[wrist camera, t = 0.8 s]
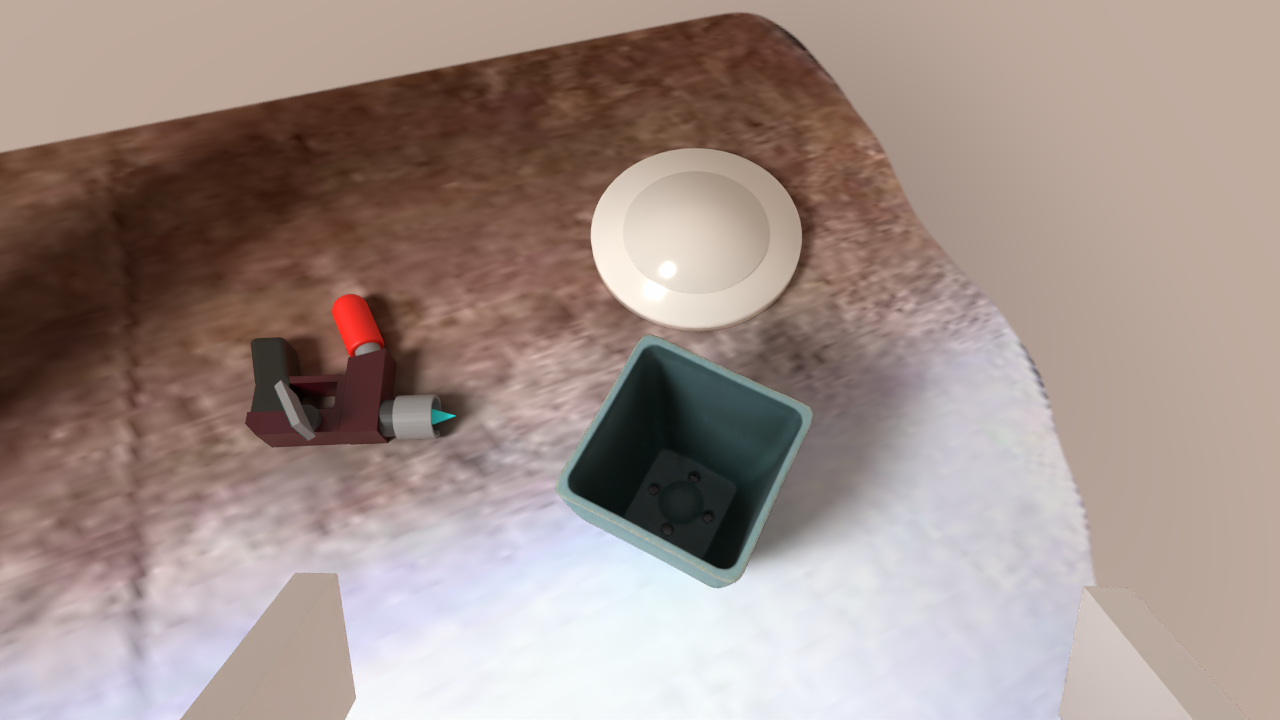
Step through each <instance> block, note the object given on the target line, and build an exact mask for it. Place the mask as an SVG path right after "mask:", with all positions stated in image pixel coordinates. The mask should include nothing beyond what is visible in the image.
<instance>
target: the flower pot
mask: <svg viewBox="0 0 1280 720" xmlns="http://www.w3.org/2000/svg"><path fill="white" fill-rule="evenodd" d="M813 419H814V412H813V410H812V409H811V407H809V406H808V405H806V404H804V403H802V402H800V401H798V400H796V399H793V398H791V397H789V396H787V395H785V394H782V393H780V392H778V391H775V390H773V389H771V388H769V387H766V386H764V385H762V384H760V383H758V382H756V381H753V380H751V379H749V378H747V377H745V376H742V375H740V374H738V373H736V372H733V371H731V370H729V369H727V368H725V367H723V366H721V365H718V364H716V363H714V362H711V361H709V360H707V359H705V358H703V357H701V356H699V355H697V354H695V353H692V352H690V351H688V350H686V349H684V348H682V347H679V346H677V345H676V344H674V343H671V342H669V341H667V340H665V339H663V338H660V337H657V336H654V335H645V336H643V337H642V338H641V339H640V340H639V341H638V343H637V344H636V346H635V348H634V349H633V351H632V353H631V355H630V357H629V358H628V360H627V362H626V364H625V366H624V367H623V369H622V371H621V373H620V374H619V376H618V378H617V380H616V381H615V383H614V385H613V387H612V388H611V390H610V392H609V394H608V395H607V397H606V399H605V401H604V402H603V404H602V405H601V407H600V409H599V411H598V412H597V414H596V416H595V418H594V419H593V421H592V422H591V424H590V426H589V428H588V429H587V431H586V432H585V434H584V436H583V437H582V439H581V441H580V442H579V444H578V446H577V447H576V449H575V451H574V452H573V454H572V456H571V457H570V459H569V461H568V462H567V464H566V466H565V467H564V469H563V470H562V472H561V474H560V475H559V477H558V479H557V482H556V484H555V491H556V493H557V494H558V495H559V496H560V497H561V498H562V499H563V500H564V502H565V503H566V504H567V505H568V506H569V507H570V508H571V509H572V510H573V511H574V512H575V513H576V514H577V515H578V516H579V517H581V518H582V519H583V520H585V521H587V522H588V523H590V524H592V525H594V526H596V527H598V528H600V529H602V530H604V531H606V532H608V533H610V534H612V535H614V536H616V537H618V538H620V539H622V540H624V541H626V542H628V543H630V544H631V545H633V546H635V547H637V548H639V549H641V550H643V551H645V552H647V553H649V554H651V555H652V556H654V557H656V558H658V559H660V560H662V561H664V562H666V563H667V564H669V565H671V566H673V567H675V568H677V569H679V570H680V571H682V572H684V573H686V574H688V575H690V576H692V577H693V578H695V579H697V580H699V581H701V582H702V583H704V584H706V585H708V586H710V587H713V588H722V587H725V586H728V585H730V584H733V583H735V582H736V581H738V580H739V579H740V578H741V576H742V575H743V573H744V571H745V569H746V566H747V564H748V562H749V559H750V556H751V554H752V552H753V550H754V548H755V545H756V543H757V541H758V539H759V536H760V534H761V532H762V529H763V527H764V525H765V523H766V521H767V518H768V516H769V514H770V512H771V509H772V507H773V505H774V503H775V501H776V499H777V497H778V494H779V492H780V490H781V488H782V486H783V483H784V481H785V479H786V477H787V474H788V472H789V470H790V468H791V466H792V464H793V462H794V460H795V458H796V456H797V454H798V451H799V449H800V447H801V445H802V443H803V441H804V439H805V437H806V435H807V433H808V431H809V429H810V427H811V425H812V422H813ZM691 474H696V475H697V476H698V481H697V482H691V481H690V480H689V476H690V475H691ZM654 485H655V486H657V487H658V489H659V492H658V494H656V495H652V494H651V493H650V492H649V488H650V487H651V486H654ZM706 513H710V514H711V515H712V521H711V522H705V521H704V519H703V516H704V514H706ZM666 525H668V526H670V527H671V528H672V533H671V534H670V535H665V534H664V533H663V532H662V528H663V527H664V526H666Z"/></svg>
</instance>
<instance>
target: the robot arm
mask: <svg viewBox="0 0 1280 720" xmlns="http://www.w3.org/2000/svg"><path fill="white" fill-rule="evenodd" d="M355 699H356V695H355V688H354V682H353V675H352V668H351V662H350V655H349V648H348V642H347V635H346V629H345V622H344V615H343V609H342V602H341V595H340V589H339V582H338V575H337V574H331V573H295V574H294V575H293V577H292V578H291V579H290V580H289V582H288V583H287V584H286V586H285V587H284V588H283V589H282V591H281V592H280V593H279V594H278V596H277V597H276V598H275V600H274V601H273V602H272V603H271V605H270V606H269V607H268V608H267V610H266V611H265V612H264V614H263V615H262V616H261V617H260V619H259V620H258V621H257V623H256V624H255V625H254V626H253V628H252V629H251V630H250V631H249V633H248V634H247V635H246V637H245V638H244V639H243V640H242V642H241V643H240V644H239V645H238V647H237V648H236V649H235V651H234V652H233V653H232V654H231V656H230V657H229V658H228V659H227V661H226V662H225V663H224V665H223V666H222V667H221V668H220V670H219V671H218V672H217V673H216V675H215V676H214V677H213V679H212V680H211V681H210V682H209V684H208V685H207V686H206V687H205V689H204V690H203V691H202V693H201V694H200V695H199V696H198V698H197V699H196V700H195V701H194V703H193V704H192V705H191V707H190V708H189V709H188V710H187V712H186V713H185V714H184V715H183V717H182V718H181V719H180V720H345V718H346V716H347V714H348V712H349V710H350V709H351V707H352V705H353V703H354V701H355ZM1059 717H1060V718H1061V720H1250V719H1249V718H1248V717H1247V716H1246V715H1245V714H1244V713H1243V712H1242V711H1241V710H1240V708H1239V707H1238V706H1237V705H1236V704H1235V703H1234V702H1233V701H1232V700H1231V699H1230V697H1229V696H1228V695H1227V694H1226V693H1225V692H1224V691H1223V690H1222V689H1221V688H1220V686H1219V685H1217V683H1216V682H1215V681H1214V680H1213V679H1212V678H1211V677H1210V675H1209V674H1208V673H1207V672H1206V671H1205V670H1204V669H1203V668H1202V667H1201V666H1200V664H1199V663H1198V662H1197V661H1196V660H1195V659H1194V658H1193V657H1192V656H1191V655H1190V654H1189V653H1188V651H1187V650H1186V649H1185V648H1184V647H1183V646H1182V645H1181V644H1180V642H1179V641H1178V640H1177V639H1176V638H1175V637H1174V636H1173V635H1172V634H1171V633H1170V631H1169V630H1168V629H1167V628H1166V627H1165V626H1164V625H1163V624H1162V623H1161V622H1160V620H1159V619H1158V618H1157V617H1156V616H1155V615H1154V614H1153V613H1152V612H1151V611H1150V609H1148V607H1147V606H1146V605H1145V604H1144V603H1143V602H1142V601H1141V600H1140V598H1139V597H1138V596H1137V595H1136V594H1135V593H1134V592H1133V591H1132V590H1131V589H1130V587H1084V589H1083V594H1082V599H1081V604H1080V609H1079V614H1078V619H1077V624H1076V629H1075V634H1074V639H1073V644H1072V649H1071V654H1070V659H1069V664H1068V669H1067V675H1066V680H1065V685H1064V690H1063V695H1062V700H1061V705H1060V710H1059Z"/></svg>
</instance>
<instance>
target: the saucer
mask: <svg viewBox="0 0 1280 720" xmlns="http://www.w3.org/2000/svg"><path fill="white" fill-rule="evenodd" d="M591 244H592V251H593V257H594V262H595V265H596V268H597V271H598V274H599V276H600V278H601V280H602V282H603V283H604V285H605V286H606V288H607V289H608V291H609V292H610V293H611V294H612V295H613V297H614V298H615V299H616V300H617V301H618V302H619V303H620V304H622V305H623V306H624V307H625V308H626V309H628V310H629V311H630V312H632V313H634V314H635V315H637V316H639V317H640V318H642V319H644V320H647V321H649V322H651V323H653V324H656V325H659V326H662V327H665V328H670V329H675V330H680V331H693V332H698V331H713V330H719V329H724V328H728V327H732V326H735V325H738V324H740V323H743V322H745V321H748V320H750V319H752V318H753V317H755V316H757V315H759V314H760V313H762V312H763V311H764V310H766V309H767V308H768V307H770V306H771V305H772V304H773V303H774V302H775V301H776V300H777V299H778V298H779V297H780V296H781V295H782V293H783V292H784V291H785V289H786V288H787V286H788V285H789V283H790V281H791V279H792V277H793V275H794V272H795V269H796V267H797V264H798V260H799V256H800V251H801V246H802V229H801V222H800V218H799V215H798V212H797V209H796V207H795V205H794V203H793V200H792V199H791V197H790V196H789V194H788V193H787V191H786V190H785V188H784V187H783V186H782V185H781V184H780V183H779V182H778V180H776V179H775V178H774V177H773V176H772V175H771V174H770V173H769V172H767V171H766V170H764V169H763V168H761V167H760V166H758V165H757V164H755V163H753V162H751V161H749V160H747V159H745V158H742V157H740V156H737V155H735V154H731V153H727V152H724V151H718V150H712V149H701V148H690V149H679V150H672V151H667V152H663V153H660V154H656V155H654V156H651V157H648V158H646V159H644V160H642V161H640V162H638V163H636V164H634V165H633V166H631V167H630V168H628V169H627V170H625V171H624V172H623V173H622V174H621V175H619V176H618V177H617V178H616V179H615V180H614V181H613V182H612V183H611V184H610V186H609V187H608V188H607V189H606V191H605V192H604V194H603V195H602V197H601V199H600V201H599V203H598V205H597V207H596V210H595V213H594V216H593V220H592V227H591Z"/></svg>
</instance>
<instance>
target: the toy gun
mask: <svg viewBox="0 0 1280 720" xmlns="http://www.w3.org/2000/svg"><path fill="white" fill-rule="evenodd" d="M332 313H333V317H334V320H335V322H336V325H337V327H338V329H339V332H340V334H341V337H342V339H343V341H344V344H345V346H346V349H347V351H348V353H349V355H350V357H349V358H348V364H347V371H346V378H345V377H343V376H342V375H340V374H337V375H314V376H300V373H299V366H298V358H297V353H296V351H295V350H294V349H293V347H292V346H291V345H290V344H289V343H288V342H287V341H286V340H285V339H283V338H281V337H277V338H256V339H254V340H252V342H251V350H252V359H253V368H254V377H255V384H256V386H255V391H254V396H253V402H252V407H251V412H247V417H246V422H245V424H246V425H247V426H248V427H249V428H250V429H251V430H252V432H253V433H254V434H255V435H256V436H258V437H259V438H260V439H262V440H263V441H264V442H266V443H267V444H268V445H270V446H271V447H290V446H313V445H336V444H351V445H352V444H375V443H388V437H395V436H396V437H397V439H398V440H412V439H435V438H438V437H439V434H440V431H434V430H433V426H432V425H433V424H436V423H439V422H441V421H444V420H447V419H449V418H452V417H455V415H452V414H448V413H445V412H441V402H440V399H439V397H438V395H437V394H427V395H404V396H397V397H396V399H392V398H393V389H394V379H395V370H396V362H395V361H394V359H393V358H392V357H391V355H390V354H389V352H388V351H387V349H386V348H385V349H383V348H384V341H383V339H382V336H381V334H380V332H379V330H378V327H377V325H376V323H375V321H374V318H373V316H372V314H371V311H370V309H369V307H368V305H367V303H366V301H365V300H364V299H363V298H361V297H360V296H358V295H354V294H347V295H344V296H341V297H340V298H338V299H337V300H336V302H335V303H334V305H333V309H332ZM326 396H336V397H335V404H334V408H333V409H316V408H315V407H314V406H312V405H303V400H304V397H326Z"/></svg>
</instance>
